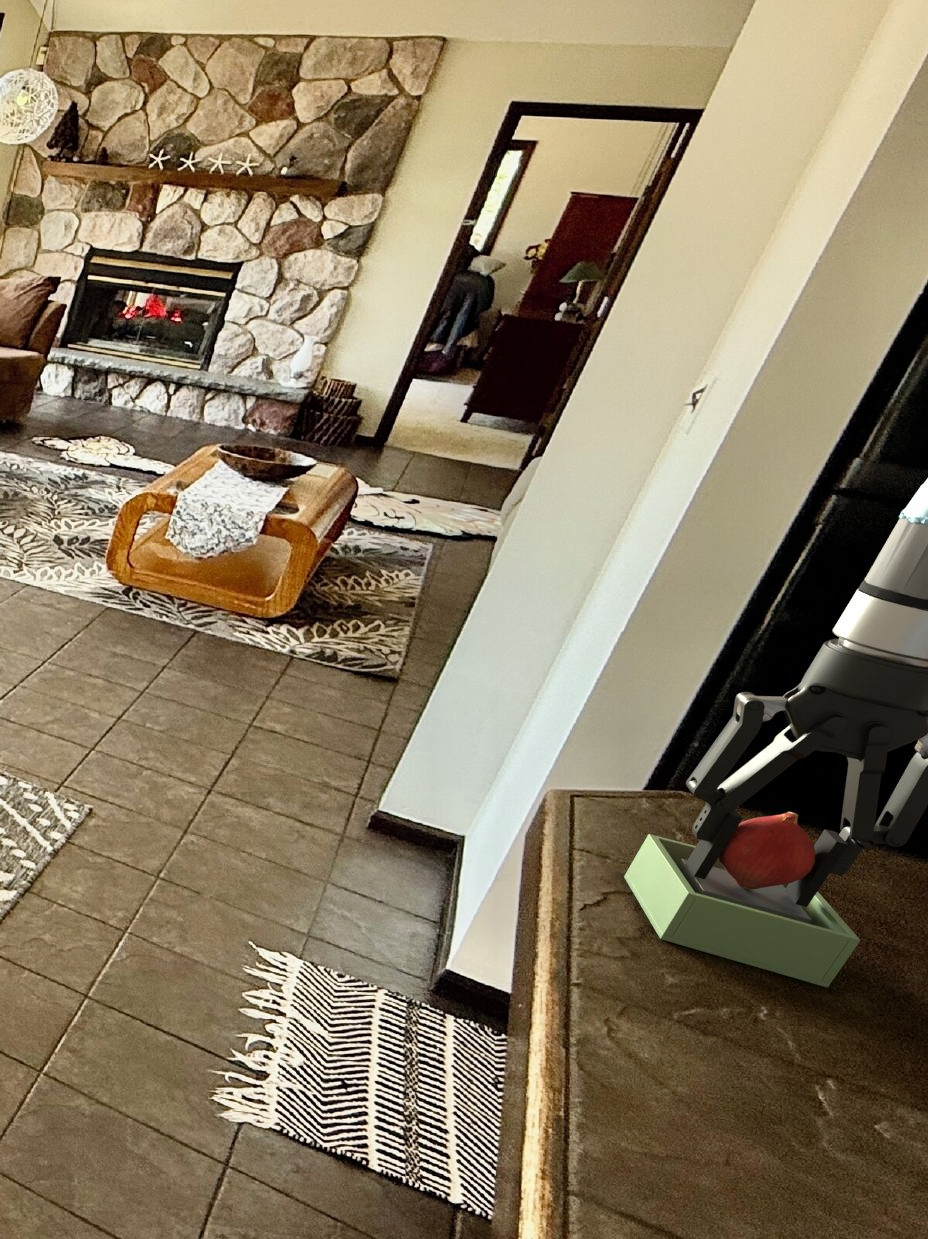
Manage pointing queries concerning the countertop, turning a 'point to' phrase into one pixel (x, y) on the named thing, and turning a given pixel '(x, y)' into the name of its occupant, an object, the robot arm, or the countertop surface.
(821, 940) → the crate
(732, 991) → the countertop surface
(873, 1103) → the countertop surface
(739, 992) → the countertop surface
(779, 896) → the block
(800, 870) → the onion
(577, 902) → the countertop surface
